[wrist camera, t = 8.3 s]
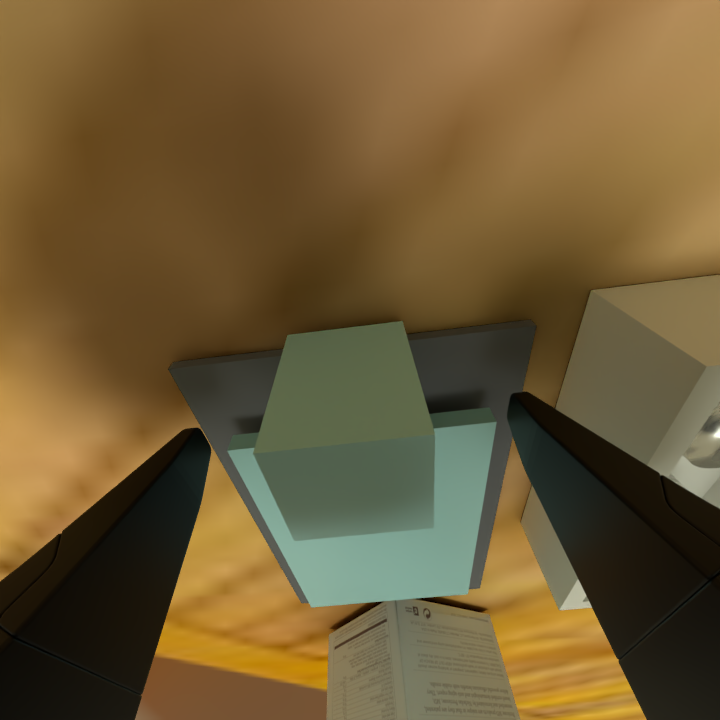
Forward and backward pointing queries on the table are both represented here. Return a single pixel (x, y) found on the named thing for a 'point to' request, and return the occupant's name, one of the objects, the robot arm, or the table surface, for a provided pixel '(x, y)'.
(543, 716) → the table surface
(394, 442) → the lid
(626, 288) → the tub
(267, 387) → the mat
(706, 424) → the grey metal round knob
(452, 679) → the supplement box
